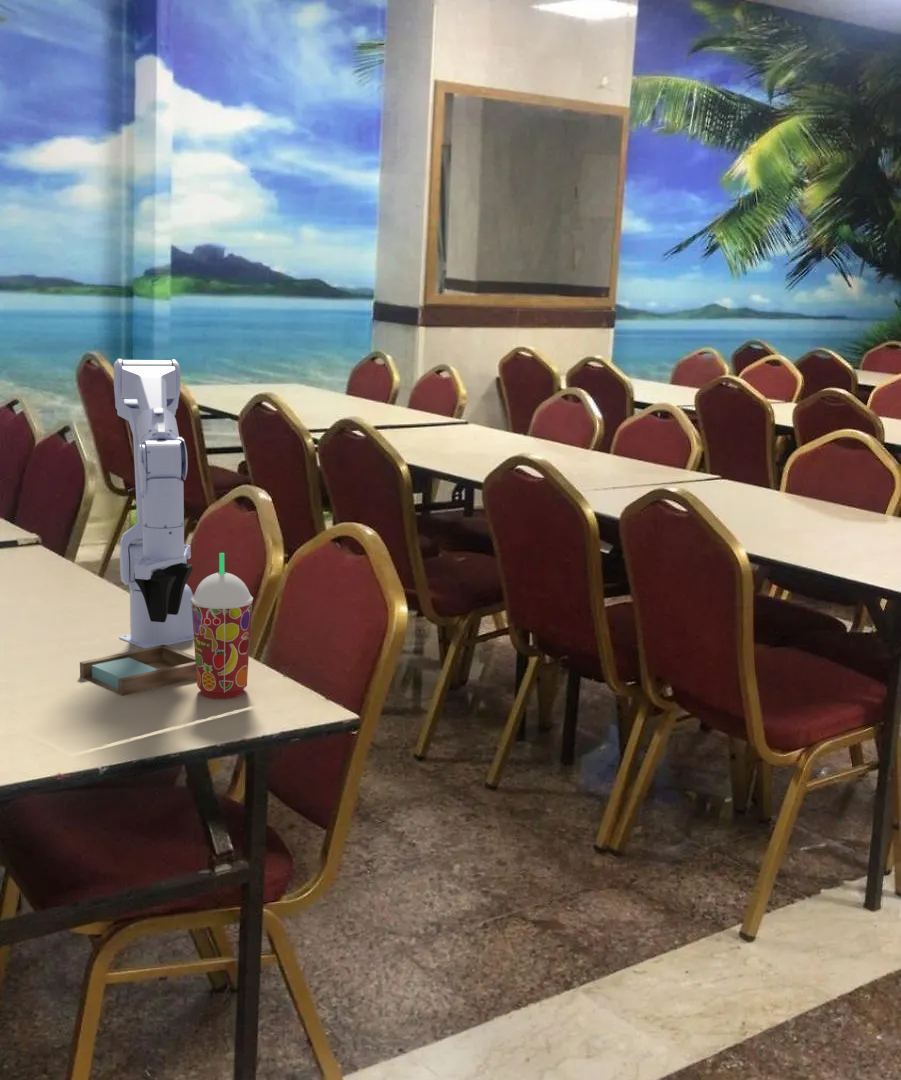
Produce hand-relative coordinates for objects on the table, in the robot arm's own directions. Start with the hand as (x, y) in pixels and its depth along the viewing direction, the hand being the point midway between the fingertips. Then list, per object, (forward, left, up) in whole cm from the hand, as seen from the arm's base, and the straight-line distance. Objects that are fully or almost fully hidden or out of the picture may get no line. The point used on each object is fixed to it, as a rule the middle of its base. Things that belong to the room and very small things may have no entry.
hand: (164, 617), depth 190 cm
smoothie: (-1, +13, -9) cm, 15 cm away
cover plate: (+7, 0, -8) cm, 10 cm away
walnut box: (+4, 0, -8) cm, 9 cm away
